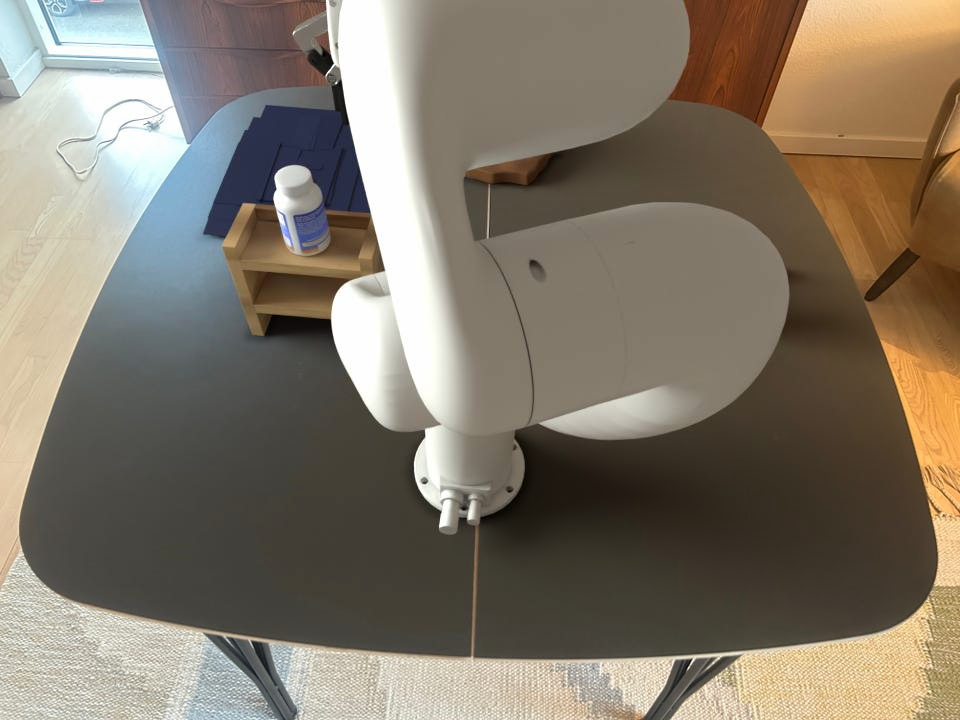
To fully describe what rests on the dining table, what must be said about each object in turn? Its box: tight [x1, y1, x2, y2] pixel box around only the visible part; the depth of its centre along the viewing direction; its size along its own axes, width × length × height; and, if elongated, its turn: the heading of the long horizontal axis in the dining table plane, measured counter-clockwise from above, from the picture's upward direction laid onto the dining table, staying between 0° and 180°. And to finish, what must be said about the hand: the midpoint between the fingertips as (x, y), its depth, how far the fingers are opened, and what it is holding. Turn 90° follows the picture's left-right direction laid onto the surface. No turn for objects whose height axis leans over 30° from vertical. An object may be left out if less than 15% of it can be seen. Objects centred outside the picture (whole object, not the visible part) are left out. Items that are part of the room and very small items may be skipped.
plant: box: [464, 151, 559, 186], centre depth 117 cm, size 20×20×11 cm
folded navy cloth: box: [202, 104, 371, 237], centre depth 114 cm, size 24×30×4 cm
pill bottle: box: [274, 165, 331, 256], centre depth 82 cm, size 5×5×10 cm
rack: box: [221, 203, 385, 337], centre depth 90 cm, size 8×18×16 cm, turn 84°
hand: (399, 120), depth 68 cm, fingers open, 9 cm apart
